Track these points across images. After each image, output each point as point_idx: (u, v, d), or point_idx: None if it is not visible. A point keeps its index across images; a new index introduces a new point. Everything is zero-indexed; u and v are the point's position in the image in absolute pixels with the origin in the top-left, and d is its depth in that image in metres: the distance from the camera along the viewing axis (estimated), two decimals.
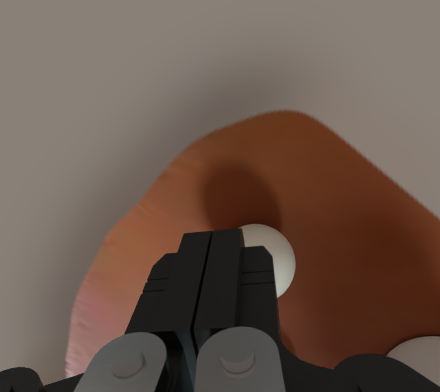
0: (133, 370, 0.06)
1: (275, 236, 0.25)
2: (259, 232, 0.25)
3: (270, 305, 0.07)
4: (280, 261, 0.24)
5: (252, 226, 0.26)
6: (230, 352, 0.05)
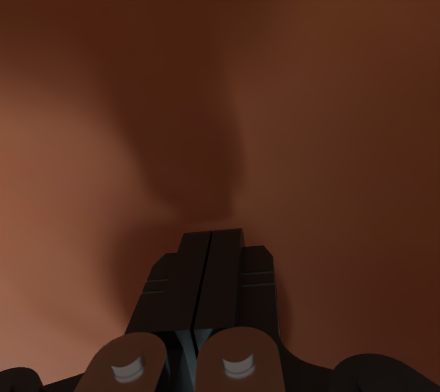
0: (133, 370, 0.06)
1: None
2: None
3: (270, 305, 0.07)
4: None
5: None
6: (230, 352, 0.05)
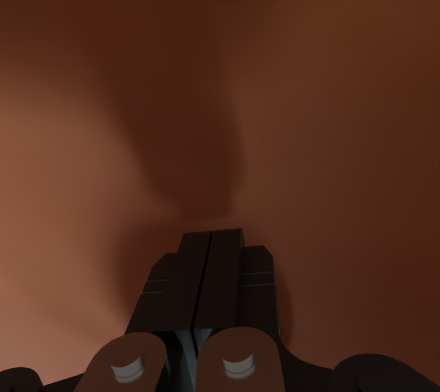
0: (133, 370, 0.06)
1: None
2: None
3: (270, 305, 0.07)
4: None
5: None
6: (230, 352, 0.05)
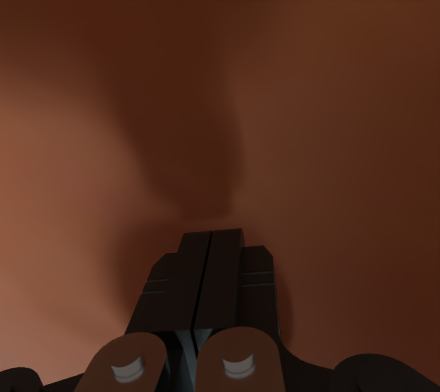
0: (133, 370, 0.06)
1: None
2: None
3: (270, 305, 0.07)
4: None
5: None
6: (230, 352, 0.05)
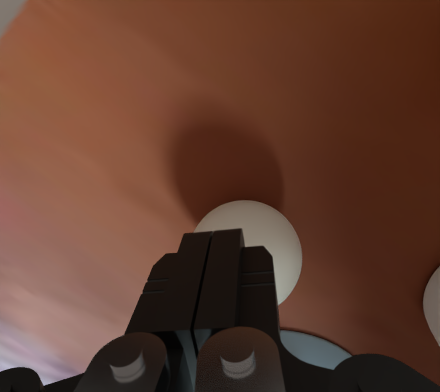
0: (133, 369, 0.06)
1: None
2: None
3: (270, 305, 0.07)
4: None
5: None
6: (230, 352, 0.05)
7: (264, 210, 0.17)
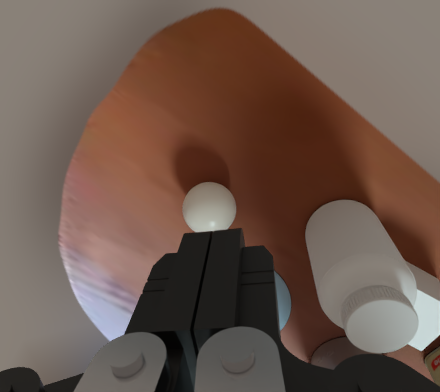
0: (132, 370, 0.06)
1: None
2: None
3: (270, 305, 0.07)
4: None
5: None
6: (230, 352, 0.05)
7: (216, 185, 0.38)
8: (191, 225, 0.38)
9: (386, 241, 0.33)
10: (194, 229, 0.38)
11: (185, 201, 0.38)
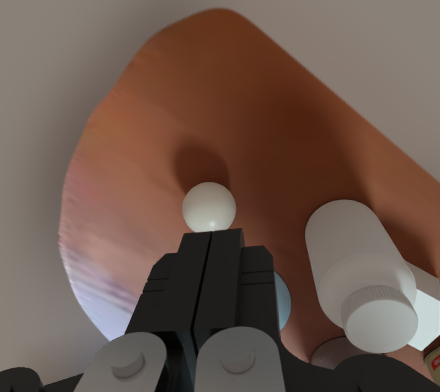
0: (133, 369, 0.06)
1: None
2: None
3: (270, 305, 0.07)
4: None
5: None
6: (230, 352, 0.05)
7: (216, 185, 0.38)
8: (191, 225, 0.38)
9: (386, 241, 0.33)
10: (194, 229, 0.38)
11: (185, 201, 0.38)
